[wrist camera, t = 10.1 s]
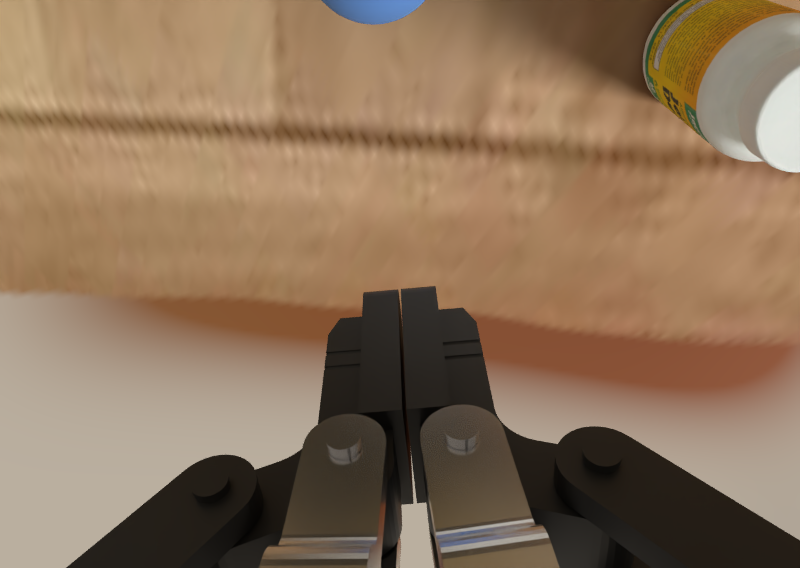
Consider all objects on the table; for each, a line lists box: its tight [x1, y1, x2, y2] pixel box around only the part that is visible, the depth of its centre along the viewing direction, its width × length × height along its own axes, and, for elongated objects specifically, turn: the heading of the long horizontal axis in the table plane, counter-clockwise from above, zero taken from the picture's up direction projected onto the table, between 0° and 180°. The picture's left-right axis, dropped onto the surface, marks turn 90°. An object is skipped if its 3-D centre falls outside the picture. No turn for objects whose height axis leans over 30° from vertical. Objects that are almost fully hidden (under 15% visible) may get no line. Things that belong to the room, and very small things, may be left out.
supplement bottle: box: [643, 0, 800, 172], centre depth 25 cm, size 5×5×10 cm
